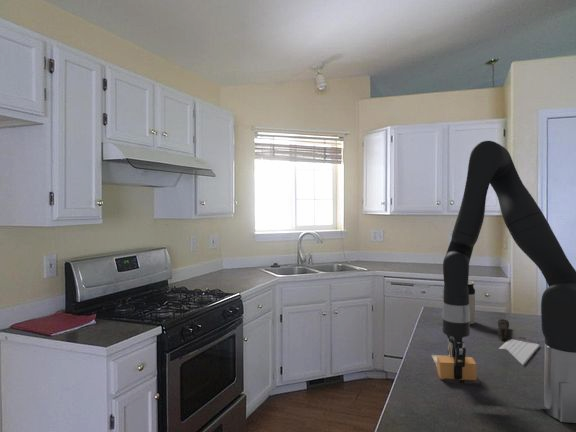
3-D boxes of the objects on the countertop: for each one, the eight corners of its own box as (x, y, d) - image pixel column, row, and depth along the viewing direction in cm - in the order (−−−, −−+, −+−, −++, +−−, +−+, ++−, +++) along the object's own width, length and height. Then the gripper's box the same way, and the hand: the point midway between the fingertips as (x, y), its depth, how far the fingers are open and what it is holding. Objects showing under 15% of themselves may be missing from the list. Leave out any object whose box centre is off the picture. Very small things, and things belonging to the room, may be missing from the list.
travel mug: (476, 321, 185) (476, 281, 185) (473, 325, 179) (473, 284, 178) (457, 318, 190) (457, 279, 189) (453, 323, 183) (453, 282, 182)
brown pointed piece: (498, 327, 177) (498, 316, 176) (509, 328, 175) (508, 318, 174) (493, 340, 161) (493, 328, 160) (505, 342, 158) (505, 330, 158)
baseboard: (477, 365, 138) (517, 375, 130) (477, 356, 138) (517, 366, 130) (503, 341, 161) (539, 348, 153) (503, 333, 161) (539, 340, 152)
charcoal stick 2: (478, 387, 120) (480, 390, 118) (463, 386, 121) (465, 389, 119) (478, 380, 120) (480, 383, 118) (463, 379, 121) (465, 382, 119)
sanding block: (476, 380, 120) (476, 363, 120) (440, 379, 122) (440, 362, 122) (472, 373, 125) (471, 357, 125) (437, 372, 127) (437, 356, 127)
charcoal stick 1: (458, 385, 121) (459, 388, 119) (444, 384, 122) (445, 387, 120) (458, 379, 121) (459, 382, 119) (444, 378, 122) (445, 381, 120)
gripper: (475, 325, 115) (475, 386, 116) (463, 312, 130) (463, 366, 130) (447, 324, 117) (447, 384, 117) (438, 311, 131) (438, 364, 131)
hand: (455, 374), depth 124 cm, fingers closed on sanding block, 5 cm apart
